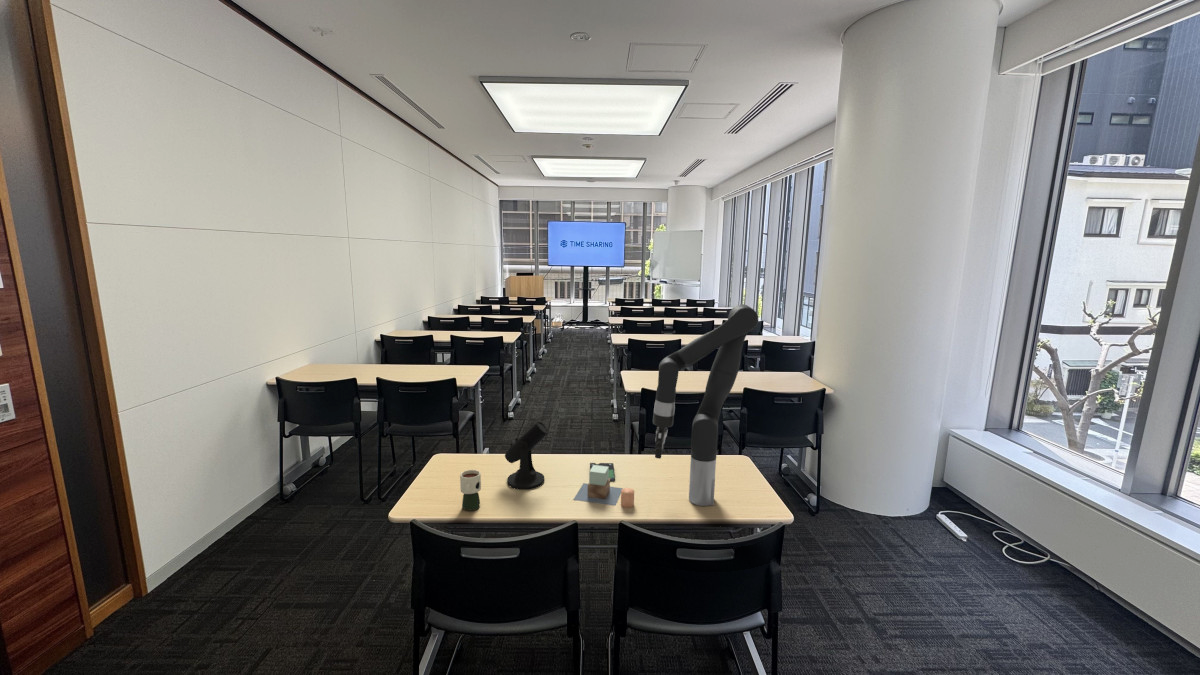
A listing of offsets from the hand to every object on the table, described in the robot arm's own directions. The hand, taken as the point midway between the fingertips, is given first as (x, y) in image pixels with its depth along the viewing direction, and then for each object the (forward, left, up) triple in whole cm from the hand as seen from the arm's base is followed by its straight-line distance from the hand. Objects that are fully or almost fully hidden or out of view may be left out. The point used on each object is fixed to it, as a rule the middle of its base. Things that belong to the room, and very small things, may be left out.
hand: (659, 453), depth 181 cm
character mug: (+64, +26, -18) cm, 71 cm away
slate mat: (+22, +5, -18) cm, 29 cm away
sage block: (+22, +5, -12) cm, 25 cm away
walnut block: (+22, +5, -17) cm, 28 cm away
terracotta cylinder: (+10, +10, -18) cm, 22 cm away
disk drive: (+25, -13, -18) cm, 34 cm away
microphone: (+53, +1, -18) cm, 56 cm away
